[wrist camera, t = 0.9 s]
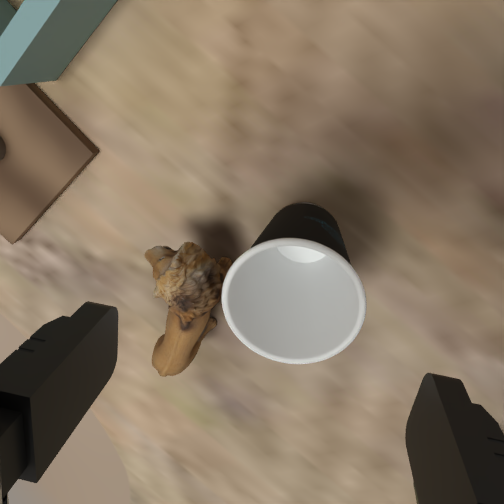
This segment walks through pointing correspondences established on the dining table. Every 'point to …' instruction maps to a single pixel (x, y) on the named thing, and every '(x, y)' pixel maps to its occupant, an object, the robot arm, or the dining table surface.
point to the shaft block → (35, 157)
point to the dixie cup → (295, 289)
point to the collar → (45, 37)
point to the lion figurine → (185, 301)
